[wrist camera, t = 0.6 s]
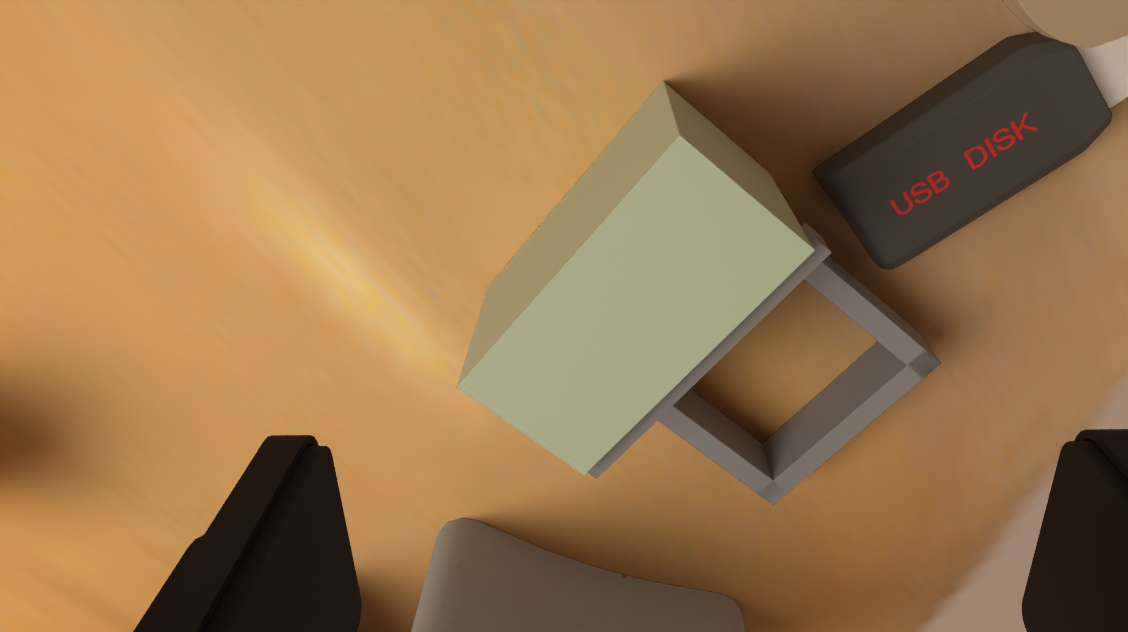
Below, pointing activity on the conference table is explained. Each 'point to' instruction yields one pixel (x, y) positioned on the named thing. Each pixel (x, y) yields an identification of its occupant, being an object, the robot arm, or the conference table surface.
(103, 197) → the conference table surface
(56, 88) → the conference table surface
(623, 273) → the green box on stand
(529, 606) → the flask
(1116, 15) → the handle
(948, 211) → the usb drive
